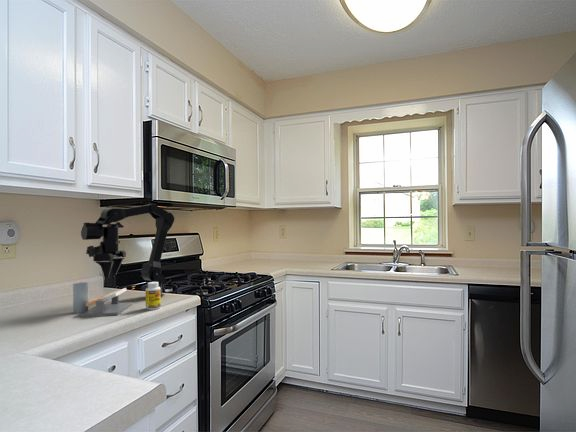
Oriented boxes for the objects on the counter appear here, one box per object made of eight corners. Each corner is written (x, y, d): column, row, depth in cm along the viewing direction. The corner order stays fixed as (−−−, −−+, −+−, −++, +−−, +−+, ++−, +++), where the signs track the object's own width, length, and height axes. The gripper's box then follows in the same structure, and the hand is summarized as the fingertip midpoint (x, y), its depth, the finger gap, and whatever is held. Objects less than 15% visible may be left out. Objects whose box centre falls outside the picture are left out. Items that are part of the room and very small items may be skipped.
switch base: (99, 306, 139) (99, 292, 139) (132, 304, 140) (132, 291, 140) (80, 317, 123) (80, 301, 123) (117, 315, 124) (117, 300, 124)
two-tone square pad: (101, 301, 137) (99, 296, 137) (128, 291, 138) (126, 287, 138) (86, 309, 125) (84, 304, 125) (116, 298, 126) (114, 293, 126)
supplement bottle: (147, 311, 130) (146, 284, 130) (144, 308, 134) (144, 282, 134) (162, 308, 133) (162, 282, 133) (159, 305, 137) (158, 280, 138)
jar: (77, 310, 133) (77, 282, 133) (90, 309, 133) (90, 281, 133) (70, 313, 128) (70, 284, 128) (84, 313, 128) (84, 284, 128)
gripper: (99, 238, 148) (99, 273, 147) (78, 240, 129) (78, 281, 129) (126, 237, 149) (126, 273, 149) (109, 239, 131) (109, 280, 130)
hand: (110, 276), depth 139 cm, fingers open, 8 cm apart
